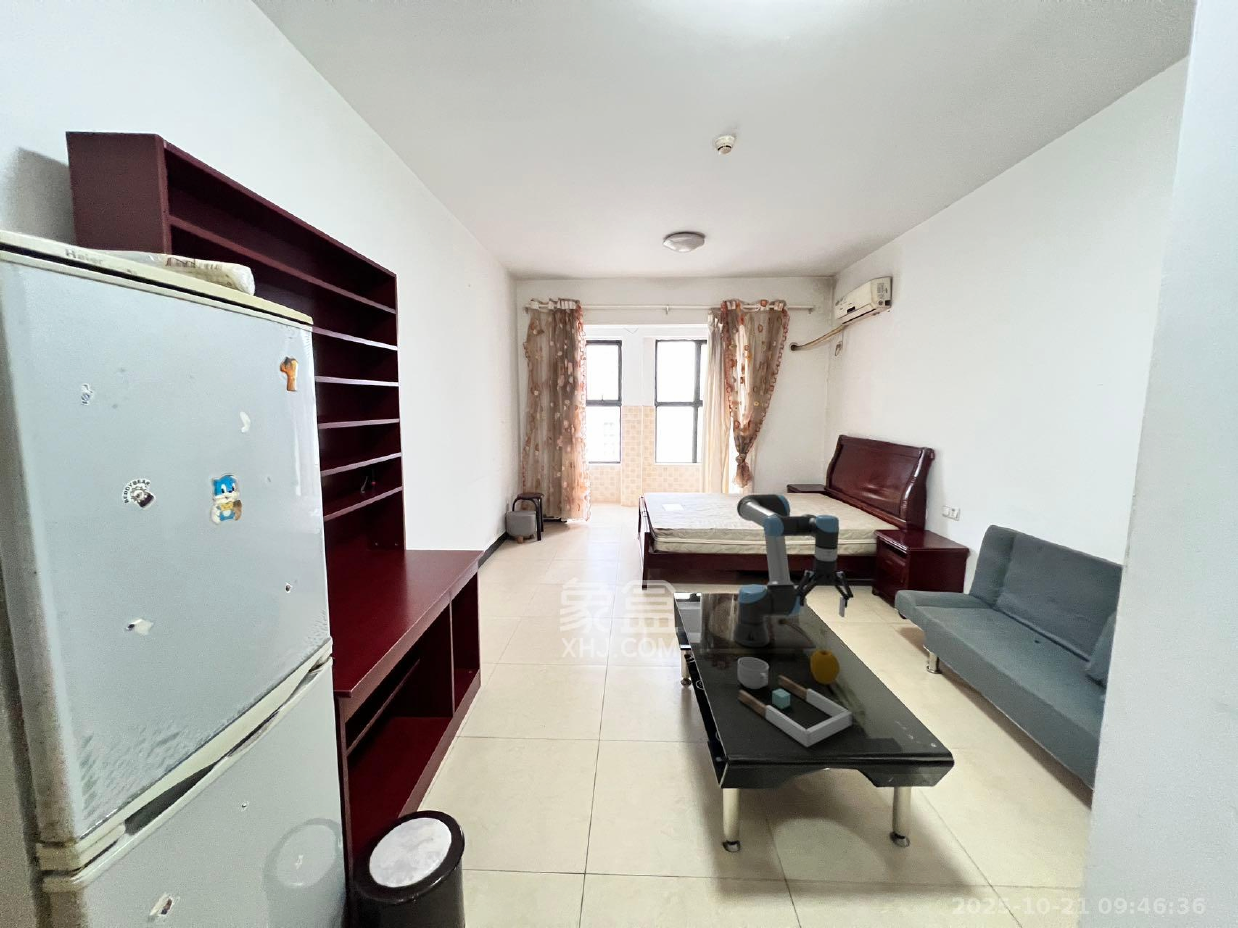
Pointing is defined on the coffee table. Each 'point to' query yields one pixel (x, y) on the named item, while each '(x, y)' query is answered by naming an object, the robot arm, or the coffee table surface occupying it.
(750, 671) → the teacup
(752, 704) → the slot rails
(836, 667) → the apple
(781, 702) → the block
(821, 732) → the grey u-shaped frame
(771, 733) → the coffee table surface
